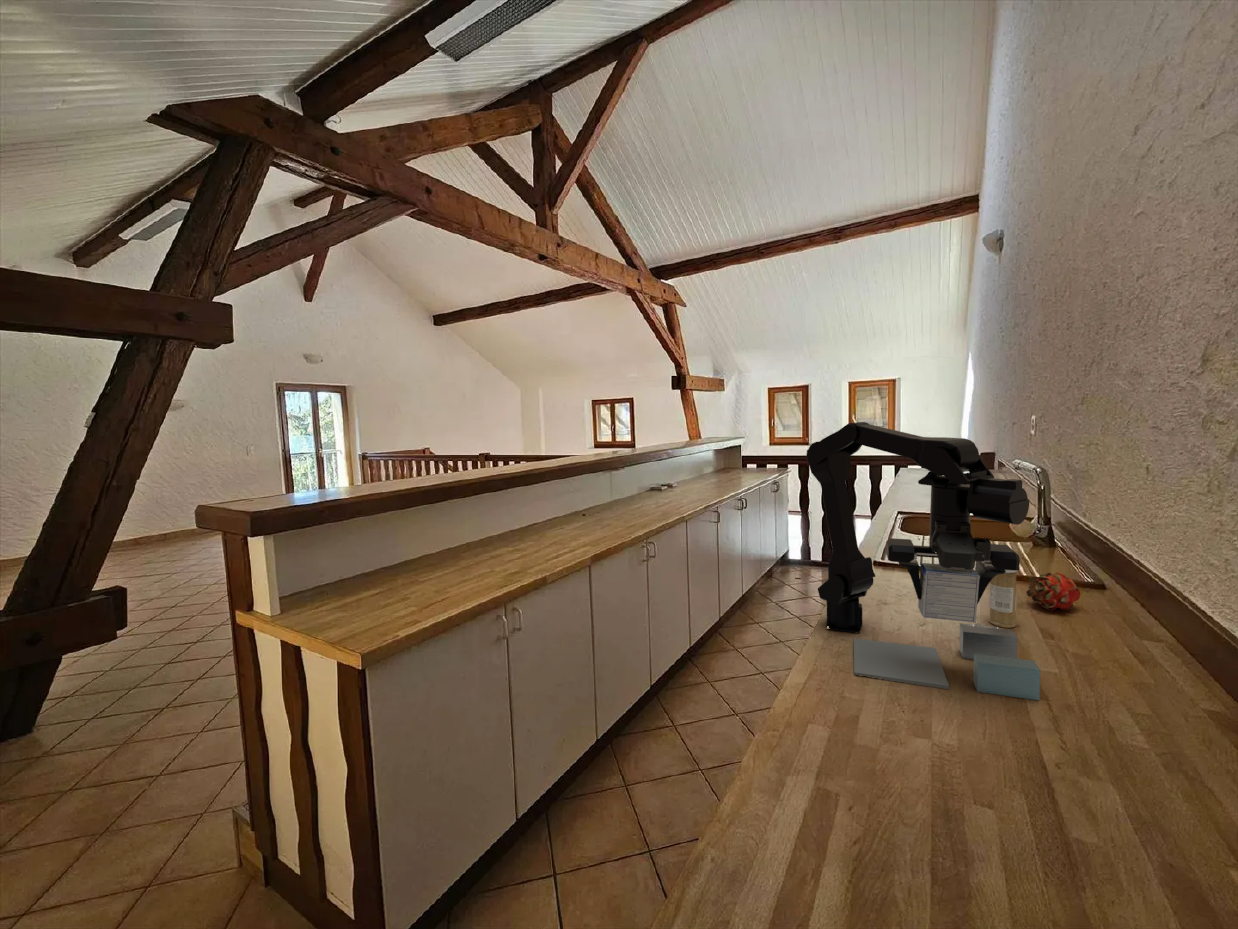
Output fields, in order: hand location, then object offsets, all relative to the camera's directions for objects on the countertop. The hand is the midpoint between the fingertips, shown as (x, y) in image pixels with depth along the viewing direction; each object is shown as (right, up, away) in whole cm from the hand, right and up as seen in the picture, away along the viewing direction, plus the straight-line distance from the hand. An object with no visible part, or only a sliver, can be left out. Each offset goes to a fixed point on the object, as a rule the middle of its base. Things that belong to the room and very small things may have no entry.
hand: (946, 601), depth 90 cm
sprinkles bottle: (+22, -9, +17) cm, 29 cm away
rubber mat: (-7, -12, +4) cm, 14 cm away
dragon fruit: (+38, -8, +24) cm, 46 cm away
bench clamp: (+9, -11, +1) cm, 14 cm away
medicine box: (0, -3, 0) cm, 3 cm away
